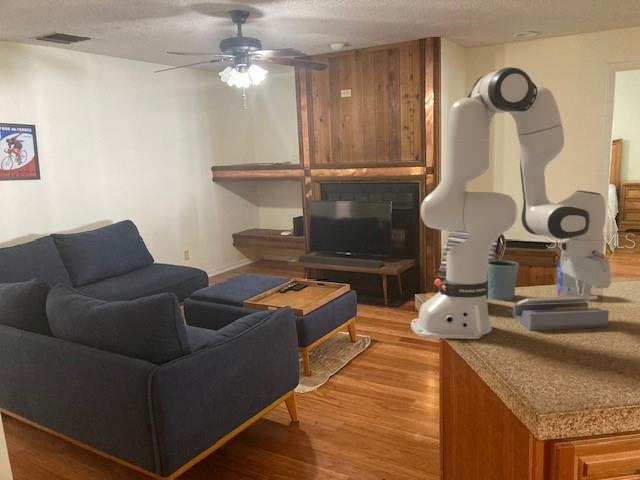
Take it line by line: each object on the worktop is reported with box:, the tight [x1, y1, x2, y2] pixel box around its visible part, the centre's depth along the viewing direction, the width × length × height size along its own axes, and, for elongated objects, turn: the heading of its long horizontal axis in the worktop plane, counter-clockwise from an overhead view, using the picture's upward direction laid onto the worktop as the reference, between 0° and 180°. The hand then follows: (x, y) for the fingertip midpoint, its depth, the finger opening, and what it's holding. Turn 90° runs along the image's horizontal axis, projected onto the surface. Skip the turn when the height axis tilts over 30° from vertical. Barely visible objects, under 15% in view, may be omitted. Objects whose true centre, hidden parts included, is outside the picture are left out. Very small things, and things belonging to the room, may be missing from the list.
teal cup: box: [487, 259, 520, 301], centre depth 175 cm, size 10×10×12 cm
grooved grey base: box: [507, 301, 610, 331], centre depth 150 cm, size 22×16×5 cm
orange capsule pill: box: [554, 306, 587, 309], centre depth 149 cm, size 11×3×3 cm, turn 92°
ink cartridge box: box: [556, 259, 592, 297], centre depth 173 cm, size 10×6×14 cm, turn 89°
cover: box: [517, 295, 598, 305], centre depth 149 cm, size 20×8×1 cm, turn 92°
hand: (583, 295), depth 145 cm, fingers closed
